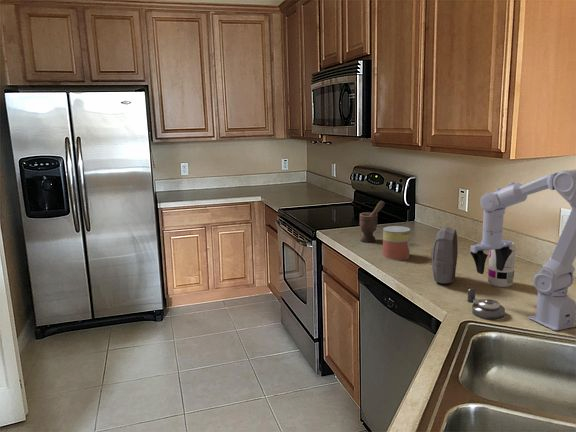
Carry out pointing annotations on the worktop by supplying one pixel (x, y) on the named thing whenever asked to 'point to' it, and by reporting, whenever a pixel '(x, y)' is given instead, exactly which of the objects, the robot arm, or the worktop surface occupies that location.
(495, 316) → the stand
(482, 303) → the capstan dial
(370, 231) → the mortar and pestle
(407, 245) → the canned food
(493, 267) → the supplement can
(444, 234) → the grey rounded bag
